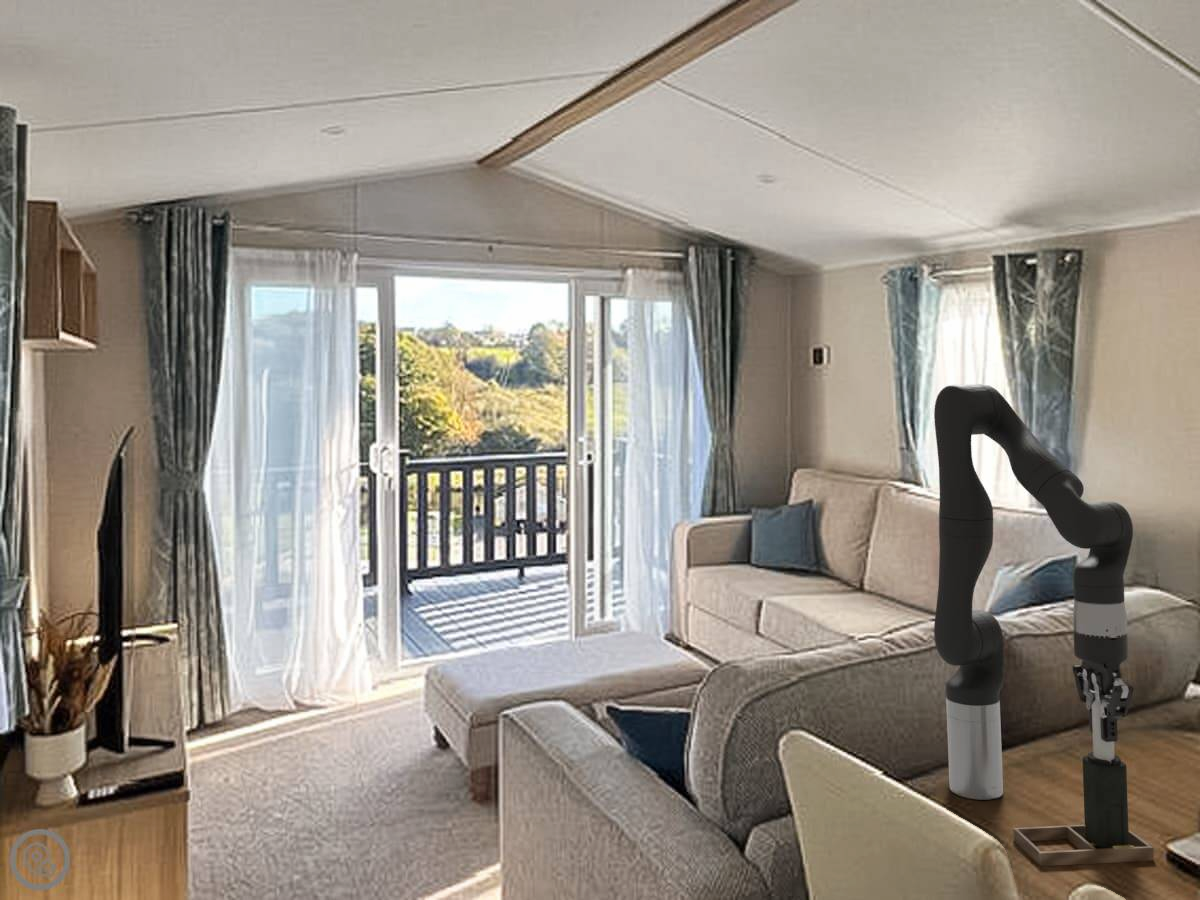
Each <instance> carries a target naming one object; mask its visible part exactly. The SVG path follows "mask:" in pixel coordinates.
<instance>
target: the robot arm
mask: <svg viewBox="0 0 1200 900" xmlns="http://www.w3.org/2000/svg"><path fill="white" fill-rule="evenodd" d="M933 412H934V414H933V415H934V429H935V439H936V448H937V458H938V461H937V462H938V479H939V481H938V482H939V483H938V484H939V487H938V488H939V507H938V508H939V509H938V511H939V512H938V529H939V530H938V536H939V537H938V539H939V558H938V560H939V562H938V564H939V567H938V588H937V597H936V598H937V599H936V607H935V615H934V626H933V635H934V636H933V637H934V638H933V639H934V645H935V647H936V650H937V653H938V654H939V656H940V658H941V659H942V660H943V661H944V662H945V663H947V664H948V665H951V666H959V668H958V669H957V671H956V672H955V674H953V676H951V678H949V679H948V680H947V681H946V683H945V703H946V709H945V710H946V723H947V725H946V729H947V751H948V757H947V758H948V776H949V777H948V779H949V780H948V781H949V789H950V791H951V792H952V793H953V794H955V795H957V796H960V797H962V798H967V799H971V800H980V801H982V800H985V801H987V800H993V799H994V800H995V799H998V798H1000V797H1002V796H1003V794H1004V787H1003V785H1004V781H1003V750H1002V749H1003V748H1002V730H1001V729H1002V728H1001V726H1002V725H1001V704H1000V703H1001V702H1000V693H1001V692H1000V691H1001V689H1002V687H1003V684H1004V679H1005V678H1004V673H1005V672H1004V671H1005V667H1004V666H1005V665H1004V664H1005V644H1004V643H1005V642H1004V640H1005V639H1004V635H1003V634H1004V633H1003V631H1002V627H1001V624H1000V623H999V621H998V620H997V618H996V617H995V616H994V615H993V614H991V613H990V612H988V611H986V610H982V609H981V610H980V609H978V610H977V609H975V610H973V600H974V592H975V588H976V585H977V582H978V580H979V577H980V575H981V573H982V571H983V569H984V567H985V565H986V563H987V560H988V559H989V556H990V552H991V550H992V547H993V542H994V508H993V504H992V501H991V499H990V496H989V495H988V492H987V490H986V489H985V487H984V485H983V483H982V481H981V480H980V478H979V476H978V474H977V472H976V469H975V466H974V462H973V455H972V454H973V452H972V436H973V435H976V436H977V435H984V436H986V437H988V438H989V439H991V440H992V441H994V442H996V444H998V445H999V446H1000V447H1001V448H1002V449H1003V451H1005V453H1006V455H1007V458H1008V461H1009V465H1010V467H1011V471H1012V473H1013V475H1014V477H1015V478H1016V480H1017V482H1018V483H1019V484H1020V485H1021V486H1022V487H1023V489H1025V490H1026V491H1027V492H1028V493H1029V494H1030V495H1031V496H1032V497H1033V498H1034V499H1035V500H1036V501H1038V503H1040V505H1042V506H1043V507H1044V509H1045V511H1046V513H1047V515H1048V516H1049V518H1050V520H1051V521H1052V524H1053V525H1054V527H1055V528H1056V530H1057V532H1058V533H1059V535H1060V536H1061V537H1062V538H1063V539H1064V540H1065V541H1066V542H1068V543H1069V544H1071V545H1072V546H1074V547H1077V548H1079V549H1083V550H1087V549H1088V550H1089V552H1088V555H1087V557H1086V558H1085V560H1084V561H1082V562H1080V563H1078V564H1077V565H1075V567H1074V568H1073V569H1074V570H1073V608H1072V626H1073V627H1072V628H1073V629H1072V630H1073V654H1074V656H1075V658H1077V659H1079V660H1080V661H1081V664H1079V665H1073V666H1072V673H1073V677H1074V681H1075V685H1076V689H1077V692H1078V697H1079V700H1080V702H1081V703H1082V704H1084V703H1085V708H1086V710H1088V717H1089V718H1088V719H1089V721H1088V722H1089V733H1090V734H1092V735H1093V728H1092V704H1093V702H1094V701H1095V700H1096V701H1097V702H1099V704H1100V713H1101V717H1100V718H1101V739H1102V740H1104V741H1105V742H1114V743H1115V742H1117V741H1118V718H1126V717H1127V716H1128V712H1129V709H1130V705H1131V702H1132V698H1133V694H1134V692H1135V691H1134V687H1133V685H1132V684H1125V683H1124V681H1123V674H1122V671H1121V664H1122V663H1125V662H1127V660H1128V659H1129V642H1128V641H1129V640H1128V639H1129V638H1128V637H1129V636H1128V616H1127V609H1126V605H1125V604H1126V602H1125V582H1124V575H1125V570H1126V567H1127V563H1128V560H1129V555H1130V551H1131V548H1132V542H1133V538H1134V537H1133V536H1134V529H1133V528H1134V527H1133V526H1134V525H1133V522H1132V518H1131V516H1130V513H1129V512H1128V510H1127V509H1126V508H1125V507H1124V506H1122V505H1121V504H1120V503H1118V502H1115V501H1098V502H1089V503H1087V502H1086V501H1084V500H1083V499H1082V496H1083V494H1084V489H1085V487H1084V484H1083V482H1082V480H1081V479H1080V478H1079V476H1077V475H1076V474H1075V473H1074V472H1073V471H1072V470H1071V469H1069V467H1067V466H1066V465H1064V464H1063V462H1061V460H1059V459H1058V458H1057V457H1056V456H1054V455H1053V453H1051V452H1050V451H1049V450H1048V449H1047V448H1046V447H1045V446H1044V445H1043V444H1042V443H1041V442H1040V441H1039V440H1038V439H1037V437H1036V436H1035V435H1034V434H1033V432H1032V431H1031V430H1030V429H1029V428H1028V427H1027V425H1026V424H1025V422H1023V420H1022V419H1021V417H1020V416H1019V415H1018V414H1017V412H1016V411H1015V410H1014V408H1013V407H1012V406H1011V405H1010V403H1009V402H1008V401H1007V400H1006V398H1005V397H1004V396H1003V395H1002V394H1001V393H1000V391H998V390H997V389H996V388H994V387H993V386H991V385H988V384H984V383H982V384H981V383H974V384H973V383H972V384H970V383H969V384H968V383H967V384H966V383H965V384H964V383H963V384H950V385H946V386H945V387H943V388H942V389H941V390H940V392H939V393H938V394H937V396H936V399H935V404H934V411H933ZM1103 695H1106V696H1107V697H1103ZM1107 703H1109V705H1108V709H1107Z"/></svg>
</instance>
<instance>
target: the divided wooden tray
mask: <svg viewBox="0 0 1200 900" xmlns="http://www.w3.org/2000/svg"><path fill="white" fill-rule="evenodd" d="M1128 830H1129V845H1122V846H1113V847H1110V848H1096V847H1095V846H1094V845H1093V844H1091V842H1089V840H1087V838H1086V837H1085V824H1070V825H1066V824H1065V825H1052V826H1051V825H1049V826H1046V825H1045V826H1031V827H1029V826H1027V827H1013V828H1012V833H1013V842H1015V843H1016V844H1017V846H1019V847H1020V848H1021V849H1022V850H1023V851H1024V852H1025V853H1026V854H1027V855H1028V856H1029V857H1030V858H1032V860H1034V862H1036V863H1037V865H1039V866H1040V867H1055V866H1069V865H1073V866H1074V865H1087V864H1089V865H1090V864H1091V865H1094V864H1108V863H1109V864H1110V863H1111V864H1112V863H1113V864H1114V863H1129V862H1130V863H1131V862H1149V861H1151V862H1152V861H1153V862H1154V859H1155V857H1154V856H1155V854H1154V847H1153V846H1152V845H1150V843H1148V842H1147V841H1145V840H1144V839H1142V837H1140V836H1139V835H1137V834H1135V833H1134V832H1133V831H1131V830H1130V829H1129V828H1128ZM1051 840H1052V841H1054V840H1056V841H1057V840H1068V841H1069V842H1070V843H1071V844H1072V845H1073V844H1074V845H1073V846H1075V848H1077V849H1065V850H1050V851H1042V850H1041V849H1040V848H1038V847H1037V846H1036V844H1034V843H1033V842H1036V841H1051ZM1032 841H1033V842H1032Z"/></svg>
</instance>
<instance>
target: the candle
mask: <svg viewBox="0 0 1200 900" xmlns="http://www.w3.org/2000/svg"><path fill="white" fill-rule="evenodd" d="M1103 697H1108V696H1106V695H1103ZM1108 705H1109V703H1107V709H1108ZM1100 717H1101V713H1100V704H1099V702H1097V701H1096V700H1095V701H1094V702H1093V704H1092V728H1093V734H1092V750H1093V751H1092V752H1089V753H1087V755H1084V756H1082V777H1083V778H1082V783H1083V809H1084V811H1083V812H1084V813H1083V815H1084V816H1083V817H1084V825H1085V837H1086V838H1085V839H1086V840H1087V839H1088V841H1090V843H1093V844H1094V845H1095V846H1096V847H1098V848H1100V849H1104V848H1113V846H1122V845H1130V844H1129V830H1130V829H1129V808H1128V805H1129V804H1128V802H1129V801H1128V777H1127V764H1126V763H1125V762H1123V761H1121V760H1122V759H1121V757H1120V756H1118V755H1117V754H1115V742H1105V741H1104V740H1102V739H1101V718H1100ZM1128 829H1129V830H1128Z"/></svg>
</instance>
